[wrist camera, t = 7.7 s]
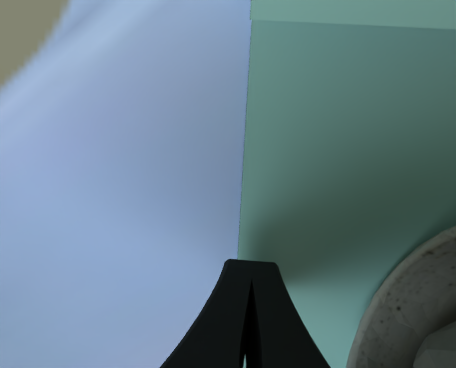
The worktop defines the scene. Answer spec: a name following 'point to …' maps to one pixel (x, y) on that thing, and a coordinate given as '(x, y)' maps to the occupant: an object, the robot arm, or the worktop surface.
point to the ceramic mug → (412, 312)
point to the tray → (346, 149)
